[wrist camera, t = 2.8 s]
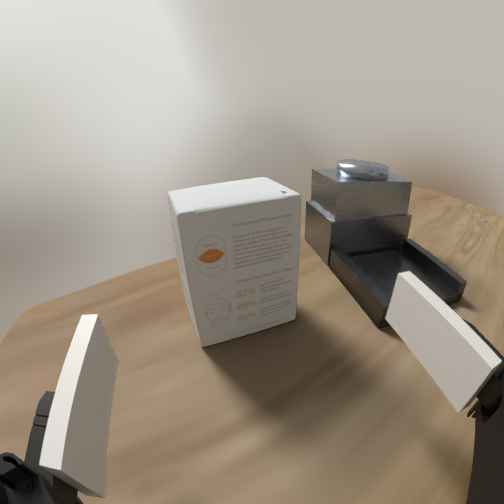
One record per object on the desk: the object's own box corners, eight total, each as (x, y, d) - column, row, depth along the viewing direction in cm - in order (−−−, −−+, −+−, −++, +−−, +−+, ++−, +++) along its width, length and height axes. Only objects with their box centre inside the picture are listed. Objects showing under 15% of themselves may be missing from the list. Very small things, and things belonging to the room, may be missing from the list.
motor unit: (375, 230, 38) (383, 159, 33) (459, 300, 23) (488, 203, 18) (304, 238, 36) (307, 158, 31) (378, 328, 21) (406, 206, 16)
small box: (268, 286, 27) (267, 175, 22) (297, 321, 22) (304, 192, 18) (185, 306, 24) (165, 189, 20) (200, 350, 20) (175, 212, 15)
